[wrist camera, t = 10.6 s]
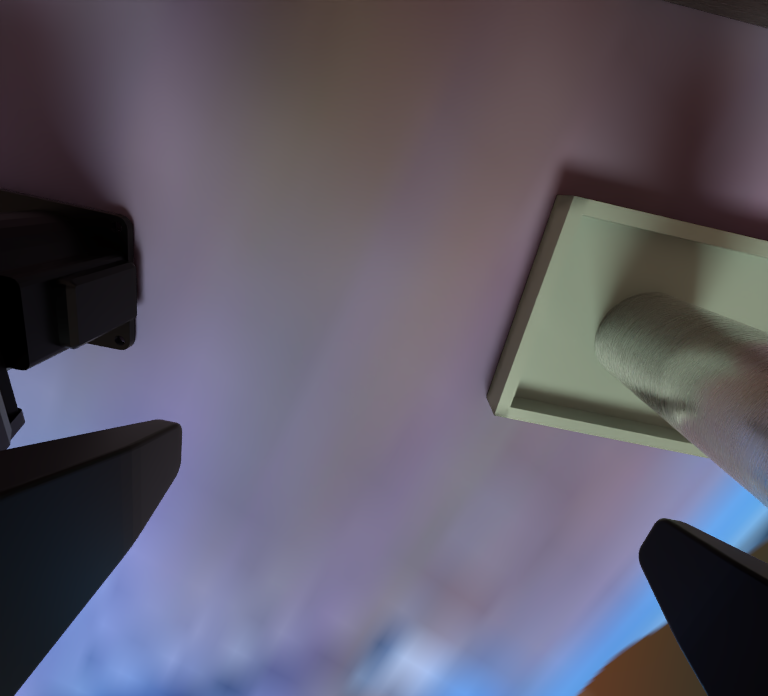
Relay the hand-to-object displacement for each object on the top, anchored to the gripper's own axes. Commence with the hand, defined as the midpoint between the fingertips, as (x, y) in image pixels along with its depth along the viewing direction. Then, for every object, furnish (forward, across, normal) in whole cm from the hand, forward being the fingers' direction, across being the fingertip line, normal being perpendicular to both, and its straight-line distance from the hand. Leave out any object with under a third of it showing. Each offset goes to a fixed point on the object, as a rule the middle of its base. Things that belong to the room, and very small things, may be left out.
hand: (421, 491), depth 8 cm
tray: (+13, +12, +1) cm, 18 cm away
